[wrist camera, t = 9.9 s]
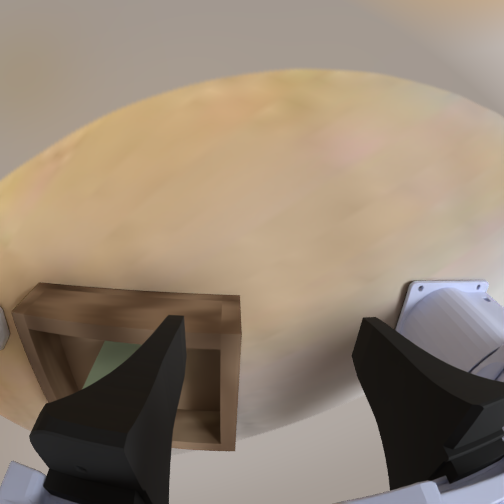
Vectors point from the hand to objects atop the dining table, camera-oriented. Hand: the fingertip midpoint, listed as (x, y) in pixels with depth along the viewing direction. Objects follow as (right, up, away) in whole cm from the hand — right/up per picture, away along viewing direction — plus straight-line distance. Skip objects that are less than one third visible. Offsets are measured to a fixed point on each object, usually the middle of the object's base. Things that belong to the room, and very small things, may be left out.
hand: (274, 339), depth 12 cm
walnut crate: (-10, -5, +12) cm, 16 cm away
